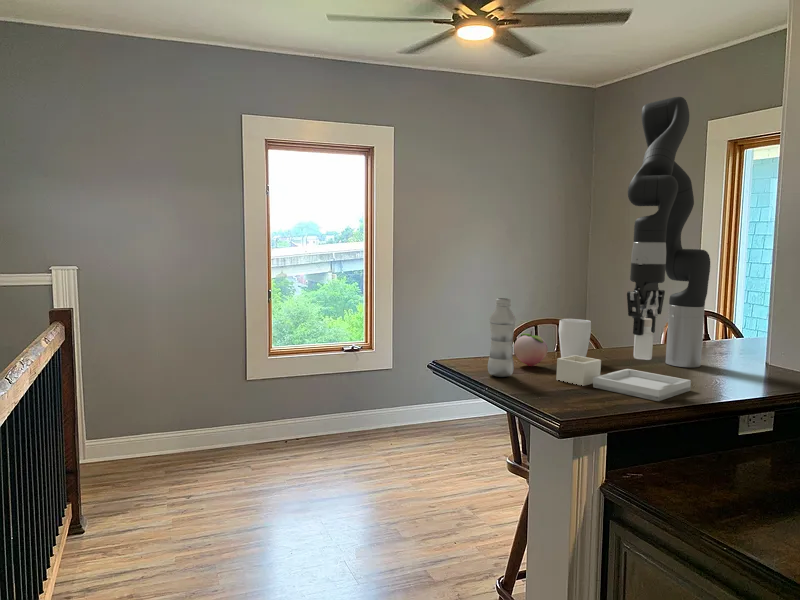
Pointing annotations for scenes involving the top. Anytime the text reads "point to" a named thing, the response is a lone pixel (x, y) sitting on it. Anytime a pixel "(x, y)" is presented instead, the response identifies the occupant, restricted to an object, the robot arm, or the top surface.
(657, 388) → the tray
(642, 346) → the pepper shaker
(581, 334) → the cup
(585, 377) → the holder
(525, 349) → the decorative fruit
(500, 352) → the plastic bottle
